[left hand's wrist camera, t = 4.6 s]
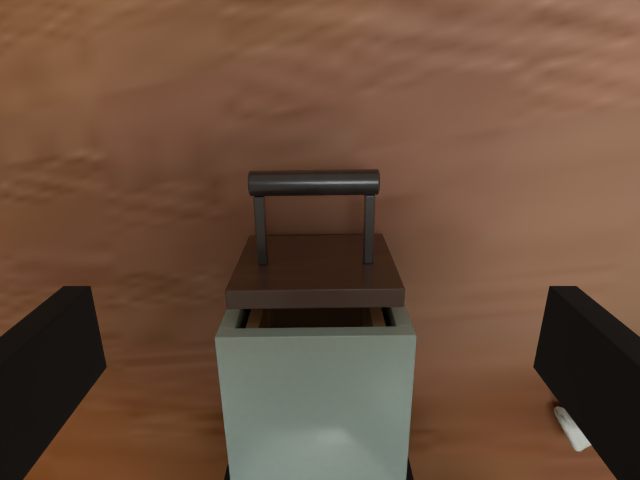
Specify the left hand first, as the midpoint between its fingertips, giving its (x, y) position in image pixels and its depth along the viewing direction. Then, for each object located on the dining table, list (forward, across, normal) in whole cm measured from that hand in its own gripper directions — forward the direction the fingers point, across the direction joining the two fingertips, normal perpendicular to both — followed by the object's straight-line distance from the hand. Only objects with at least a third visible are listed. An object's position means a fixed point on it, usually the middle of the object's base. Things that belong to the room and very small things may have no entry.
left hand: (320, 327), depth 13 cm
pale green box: (+21, 0, +16) cm, 26 cm away
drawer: (+20, 0, +10) cm, 22 cm away
